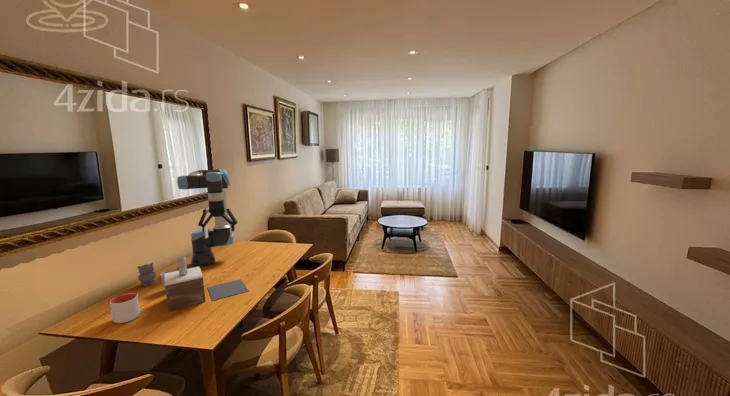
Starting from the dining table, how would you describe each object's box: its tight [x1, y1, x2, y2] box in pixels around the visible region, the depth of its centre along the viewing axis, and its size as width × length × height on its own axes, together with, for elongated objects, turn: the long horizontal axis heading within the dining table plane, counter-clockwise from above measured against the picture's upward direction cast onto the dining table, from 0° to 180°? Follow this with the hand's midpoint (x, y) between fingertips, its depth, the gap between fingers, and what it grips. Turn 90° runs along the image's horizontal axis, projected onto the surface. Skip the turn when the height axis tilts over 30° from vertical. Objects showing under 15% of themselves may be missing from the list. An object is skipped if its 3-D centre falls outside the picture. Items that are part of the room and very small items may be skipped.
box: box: [164, 277, 206, 312], centre depth 153 cm, size 16×16×13 cm
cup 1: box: [109, 292, 141, 324], centre depth 136 cm, size 10×10×10 cm
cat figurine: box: [136, 262, 157, 287], centre depth 172 cm, size 8×8×12 cm
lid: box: [164, 256, 204, 286], centre depth 151 cm, size 16×16×11 cm
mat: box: [206, 278, 250, 302], centre depth 165 cm, size 19×18×1 cm
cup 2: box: [160, 269, 178, 291], centre depth 165 cm, size 8×8×10 cm
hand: (219, 237), depth 166 cm, fingers open, 13 cm apart
